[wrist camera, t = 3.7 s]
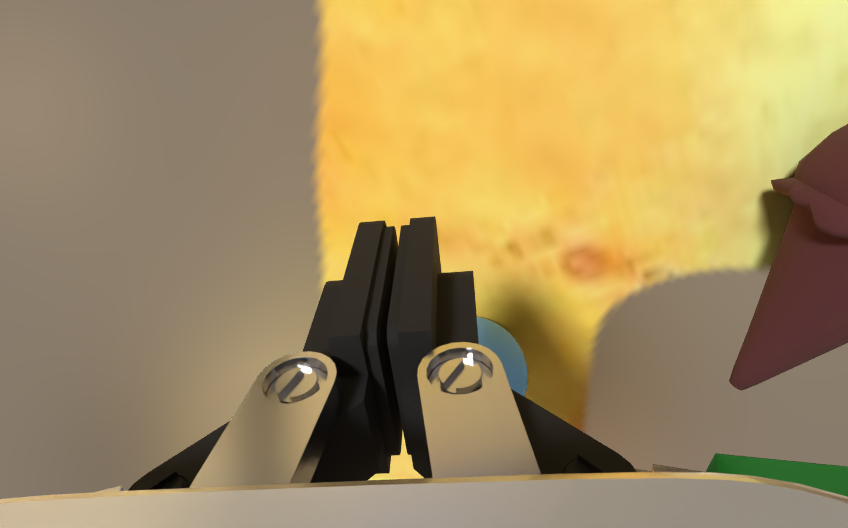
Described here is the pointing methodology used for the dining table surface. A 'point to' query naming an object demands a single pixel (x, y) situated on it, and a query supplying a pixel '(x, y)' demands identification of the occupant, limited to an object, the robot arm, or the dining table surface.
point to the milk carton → (785, 471)
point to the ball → (505, 353)
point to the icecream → (804, 271)
